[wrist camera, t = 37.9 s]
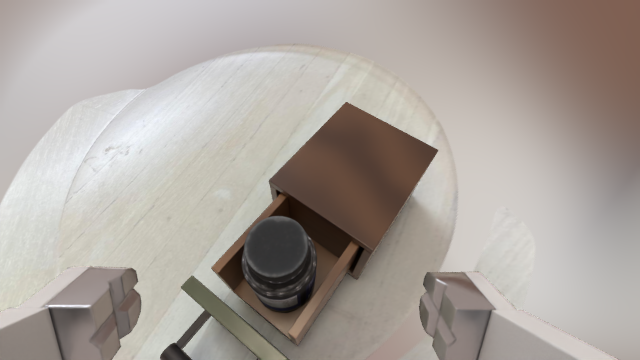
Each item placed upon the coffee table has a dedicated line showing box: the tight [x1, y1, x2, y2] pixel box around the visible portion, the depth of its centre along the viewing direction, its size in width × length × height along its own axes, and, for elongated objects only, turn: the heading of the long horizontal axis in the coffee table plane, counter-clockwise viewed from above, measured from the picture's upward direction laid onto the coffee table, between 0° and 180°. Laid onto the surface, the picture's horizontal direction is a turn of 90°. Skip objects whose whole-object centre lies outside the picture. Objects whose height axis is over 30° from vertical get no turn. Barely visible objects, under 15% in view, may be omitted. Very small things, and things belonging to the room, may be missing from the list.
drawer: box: [160, 193, 361, 360], centre depth 28 cm, size 17×10×8 cm, turn 144°
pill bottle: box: [242, 216, 317, 313], centre depth 26 cm, size 6×6×11 cm
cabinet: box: [269, 102, 438, 279], centre depth 34 cm, size 14×12×10 cm
